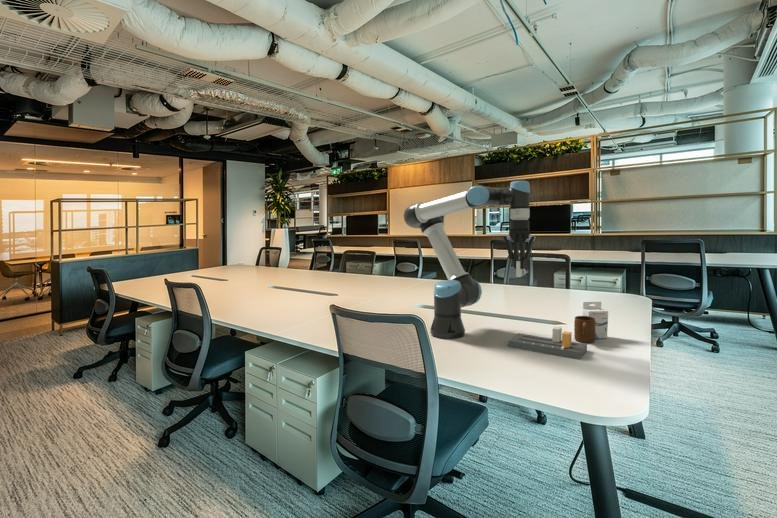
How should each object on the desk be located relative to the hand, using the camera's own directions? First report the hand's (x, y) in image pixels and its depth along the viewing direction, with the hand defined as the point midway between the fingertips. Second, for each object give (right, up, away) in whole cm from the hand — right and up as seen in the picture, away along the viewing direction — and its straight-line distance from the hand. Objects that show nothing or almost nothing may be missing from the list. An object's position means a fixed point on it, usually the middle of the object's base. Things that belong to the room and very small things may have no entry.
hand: (519, 276), depth 159 cm
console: (+7, -27, -10) cm, 30 cm away
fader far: (+11, -24, -10) cm, 29 cm away
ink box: (+33, -26, +3) cm, 42 cm away
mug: (+25, -27, -3) cm, 37 cm away
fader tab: (+12, -25, -17) cm, 32 cm away
